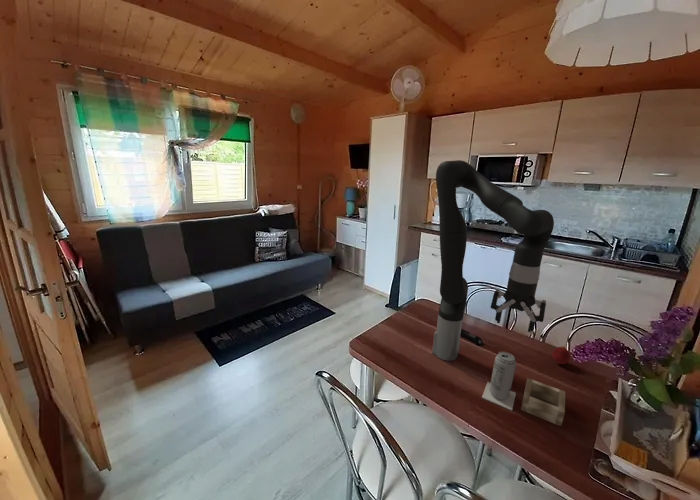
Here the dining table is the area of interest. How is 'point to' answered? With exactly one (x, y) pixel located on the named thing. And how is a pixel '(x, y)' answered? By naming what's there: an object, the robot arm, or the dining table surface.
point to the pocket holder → (541, 407)
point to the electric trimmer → (471, 337)
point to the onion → (561, 355)
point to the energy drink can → (502, 375)
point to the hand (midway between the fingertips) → (513, 326)
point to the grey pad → (504, 403)
